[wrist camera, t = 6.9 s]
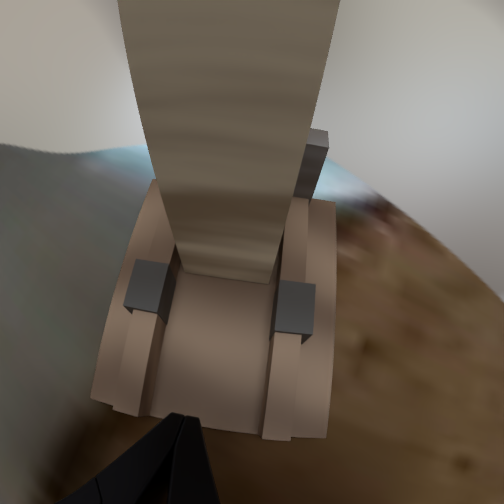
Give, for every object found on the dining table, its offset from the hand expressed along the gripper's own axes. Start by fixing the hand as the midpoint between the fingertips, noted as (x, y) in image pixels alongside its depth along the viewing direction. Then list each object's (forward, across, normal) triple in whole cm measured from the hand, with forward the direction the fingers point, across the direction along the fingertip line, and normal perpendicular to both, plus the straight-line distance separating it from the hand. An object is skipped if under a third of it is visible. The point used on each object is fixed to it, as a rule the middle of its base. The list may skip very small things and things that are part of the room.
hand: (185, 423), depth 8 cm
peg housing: (+10, 0, +1) cm, 10 cm away
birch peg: (+11, 0, -3) cm, 11 cm away
